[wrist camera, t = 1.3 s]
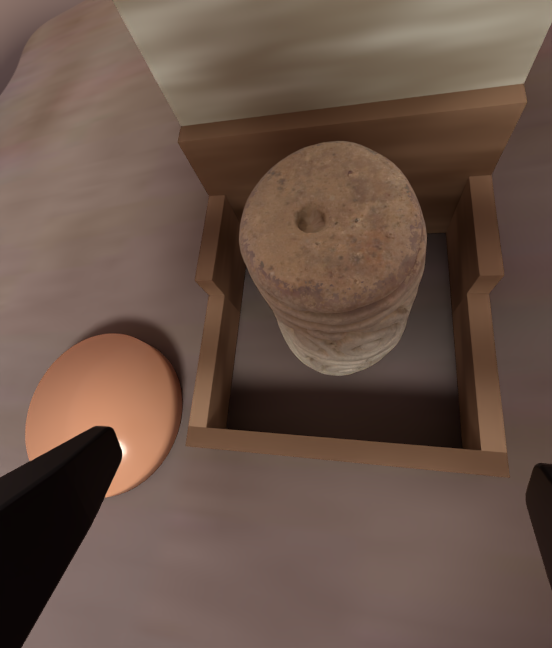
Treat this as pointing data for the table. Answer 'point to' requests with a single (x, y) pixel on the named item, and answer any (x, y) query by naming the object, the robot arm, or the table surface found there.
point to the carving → (336, 253)
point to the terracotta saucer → (109, 403)
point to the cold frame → (358, 127)
